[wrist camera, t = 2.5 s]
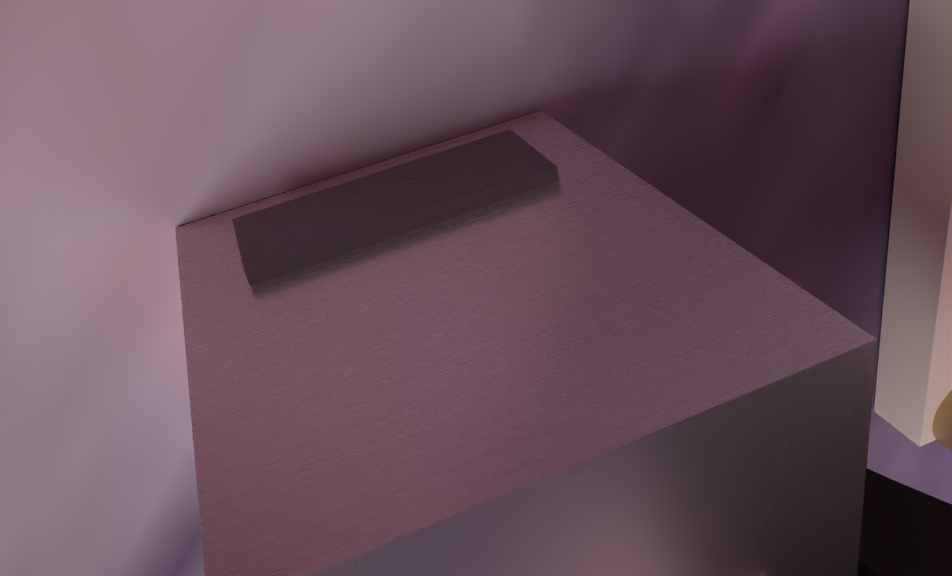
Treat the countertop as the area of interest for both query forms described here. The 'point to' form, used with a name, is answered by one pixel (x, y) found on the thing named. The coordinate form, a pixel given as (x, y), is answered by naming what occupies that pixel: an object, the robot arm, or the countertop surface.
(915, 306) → the wooden peg board
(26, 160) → the countertop surface
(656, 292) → the mauve rectangular box
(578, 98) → the countertop surface
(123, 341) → the countertop surface
